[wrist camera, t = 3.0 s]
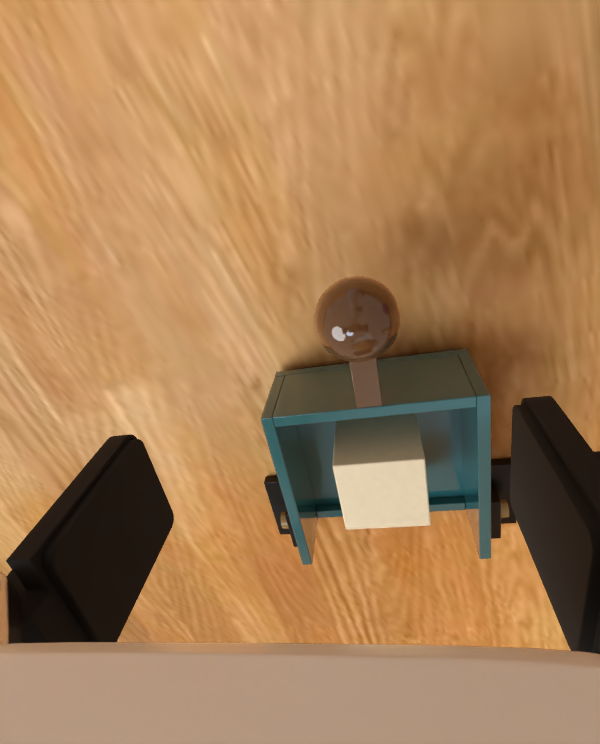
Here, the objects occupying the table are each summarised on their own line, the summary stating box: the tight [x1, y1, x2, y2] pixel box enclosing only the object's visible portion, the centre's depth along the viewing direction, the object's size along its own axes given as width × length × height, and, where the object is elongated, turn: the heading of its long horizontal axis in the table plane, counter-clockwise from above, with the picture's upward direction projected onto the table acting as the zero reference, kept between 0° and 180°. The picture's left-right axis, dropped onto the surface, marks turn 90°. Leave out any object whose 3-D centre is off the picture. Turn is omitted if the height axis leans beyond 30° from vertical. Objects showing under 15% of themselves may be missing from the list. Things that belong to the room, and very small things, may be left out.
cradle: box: [264, 459, 516, 547], centre depth 28 cm, size 5×16×3 cm, turn 102°
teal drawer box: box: [261, 276, 491, 565], centre depth 23 cm, size 17×11×6 cm, turn 12°
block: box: [332, 413, 431, 530], centre depth 24 cm, size 4×4×4 cm
